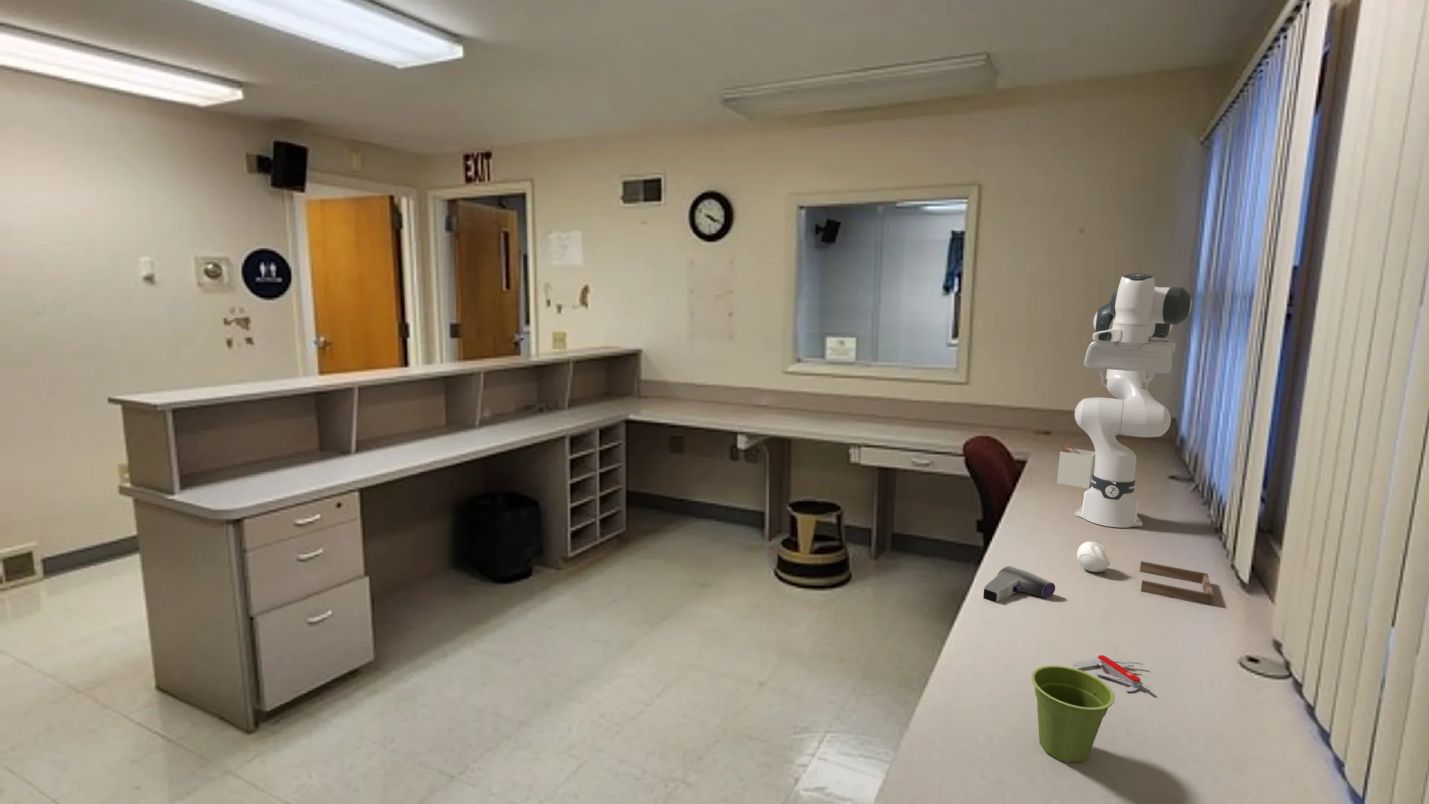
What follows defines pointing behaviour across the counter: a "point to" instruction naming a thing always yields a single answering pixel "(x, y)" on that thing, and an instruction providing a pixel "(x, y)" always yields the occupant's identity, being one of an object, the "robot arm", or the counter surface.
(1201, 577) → the bay
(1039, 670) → the plant pot
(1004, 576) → the infrared thermometer
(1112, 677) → the swiss army knife
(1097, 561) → the white sculpted ball
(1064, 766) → the counter surface
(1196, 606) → the counter surface
